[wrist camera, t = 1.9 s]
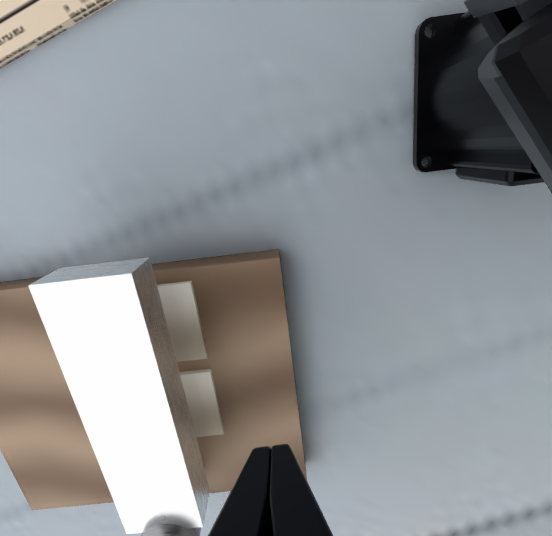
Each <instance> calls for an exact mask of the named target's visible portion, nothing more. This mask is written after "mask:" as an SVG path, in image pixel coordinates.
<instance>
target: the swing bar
mask: <svg viewBox="0 0 552 536" xmlns="http://www.w3.org/2000/svg"><path fill="white" fill-rule="evenodd" d="M28 287H29V289H30V292H31V294H32V297H33V299H34V302H35V304H36V307H37V309H38V312H39V314H40V317H41V319H42V322H43V324H44V327H45V329H46V332H47V334H48V337H49V339H50V342H51V344H52V347H53V350H54V352H55V355H56V357H57V360H58V362H59V365H60V367H61V370H62V372H63V375H64V377H65V380H66V382H67V385H68V387H69V390H70V392H71V395H72V397H73V400H74V402H75V405H76V407H77V410H78V412H79V415H80V417H81V420H82V423H83V425H84V428H85V430H86V433H87V435H88V438H89V440H90V443H91V445H92V448H93V450H94V453H95V455H96V458H97V460H98V463H99V465H100V468H101V470H102V473H103V475H104V478H105V480H106V483H107V485H108V488H109V491H110V493H111V496H112V498H113V501H114V503H115V506H116V508H117V511H118V513H119V516H120V518H121V521H122V523H123V526H124V528H125V531H126V533H127V534H132V533H142V535H141V536H200V531H201V527H203V524H204V519H205V513H206V508H207V503H208V497H209V492H210V488H209V484H208V480H207V477H206V473H205V469H204V465H203V461H202V457H201V453H200V449H199V446H198V442H197V438H196V434H195V430H194V426H193V422H192V418H191V415H190V411H189V407H188V403H187V399H186V395H185V391H184V387H183V384H182V380H181V376H180V372H179V368H178V364H177V360H176V356H175V353H174V349H173V345H172V341H171V337H170V333H169V329H168V325H167V322H166V318H165V314H164V310H163V306H162V302H161V298H160V294H159V291H158V287H157V283H156V279H155V275H154V271H153V267H152V263H151V260H150V257H147V258H139V259H130V260H122V261H113V262H105V263H97V264H88V265H80V266H71V267H63V268H59V269H57V270H55V271H53V272H51V273H50V274H48V275H46V276H44V277H42V278H41V279H39V280H37V281H35V282H33V283H32V284H30V285H28Z"/></svg>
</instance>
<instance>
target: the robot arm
mask: <svg viewBox="0 0 552 536" xmlns="http://www.w3.org/2000/svg"><path fill="white" fill-rule="evenodd" d="M464 3H465V5H466V6H467V8H468V10H469V11H468V12H466V13H459V14H452V15H444V16H437V17H430V18H428V19H426V20H424V21H423V22H422V23H421V24H420V25H419V26H418V28H417V29H416V33H415V75H414V139H413V165H414V167H415V169H416V170H418V171H420V172H431V171H439V170H447V169H455V168H456V175H457V176H458V177H459V178H461V179H467V180H474V181H480V182H487V183H493V184H500V185H506V186H517V185H525V184H533V183H541V182H545V183H546V185H547V186H548V188H549V189H550V191H551V193H552V0H466V1H465V2H464ZM426 27H429V28H430V29H431V30H432V36H431V38H428V37H426V36H425V33H424V31H425V28H426ZM424 157H427V158H428V164H427V165H426V166H422V163H421V161H422V159H423V158H424ZM208 536H333V534H332V532H331V530H330V528H329V526H328V524H327V522H326V520H325V518H324V516H323V513H322V511H321V509H320V507H319V505H318V503H317V501H316V499H315V497H314V495H313V493H312V491H311V489H310V486H309V484H308V482H307V480H306V478H305V476H304V474H303V472H302V470H301V468H300V466H299V464H298V462H297V459H296V457H295V455H294V453H293V451H292V449H291V447H290V445H289V444H280V445H274V446H272V448H271V447H269V446H264V447H256V448H254V449H253V450H252V451H251V453H250V455H249V457H248V459H247V461H246V463H245V465H244V467H243V469H242V471H241V473H240V474H239V476H238V478H237V480H236V482H235V484H234V486H233V488H232V490H231V492H230V494H229V496H228V498H227V500H226V502H225V504H224V506H223V507H222V509H221V511H220V513H219V515H218V517H217V519H216V521H215V523H214V525H213V527H212V529H211V531H210V533H209V535H208Z"/></svg>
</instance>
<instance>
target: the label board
mask: <svg viewBox="0 0 552 536" xmlns="http://www.w3.org/2000/svg"><path fill="white" fill-rule="evenodd" d="M152 267H153V271H154V275H155V279H156V283H157V287H158V291H159V294H160V298H161V302H162V306H163V310H164V314H165V318H166V322H167V325H168V329H169V333H170V337H171V341H172V345H173V349H174V353H175V356H176V360H177V364H178V368H179V372H180V376H181V380H182V384H183V387H184V391H185V395H186V399H187V403H188V407H189V411H190V415H191V418H192V422H193V426H194V430H195V434H196V438H197V442H198V446H199V449H200V453H201V457H202V461H203V465H204V469H205V473H206V477H207V480H208V484H209V488H210V492H209V493H214V492H225V491H231V490H232V488H233V486H234V484H235V482H236V480H237V478H238V476H239V474H240V473H241V471H242V469H243V467H244V465H245V463H246V461H247V459H248V457H249V455H250V453H251V451H252V450H253V449H254V448H256V447H264V446H269V447H271V448H272V446H274V445H280V444H289V445H290V447H291V449H292V451H293V453H294V455H295V457H296V459H297V462H298V464H299V466H300V468H301V470H302V472H303V474H304V476H305V478H306V480H307V477H306V468H305V459H304V451H303V442H302V434H301V426H300V418H299V410H298V401H297V393H296V385H295V377H294V369H293V361H292V352H291V344H290V336H289V328H288V320H287V311H286V303H285V295H284V287H283V279H282V270H281V262H280V254H279V249H278V250H269V251H261V252H252V253H244V254H235V255H227V256H218V257H210V258H202V259H193V260H185V261H176V262H168V263H159V264H152ZM41 278H42V277H41ZM41 278H32V279H24V280H15V281H7V282H0V449H1V451H2V453H3V455H4V457H5V459H6V461H7V463H8V465H9V467H10V469H11V471H12V473H13V475H14V476H15V478H16V480H17V482H18V484H19V486H20V488H21V490H22V492H23V494H24V496H25V498H26V500H27V502H28V503H29V505H30V507H31V509H32V510H38V509H48V508H58V507H69V506H79V505H90V504H100V503H110V502H114V501H113V498H112V496H111V493H110V491H109V488H108V485H107V483H106V480H105V478H104V475H103V473H102V470H101V468H100V465H99V463H98V460H97V458H96V455H95V453H94V450H93V448H92V445H91V443H90V440H89V438H88V435H87V433H86V430H85V428H84V425H83V423H82V420H81V417H80V415H79V412H78V410H77V407H76V405H75V402H74V400H73V397H72V395H71V392H70V390H69V387H68V385H67V382H66V380H65V377H64V375H63V372H62V370H61V367H60V365H59V362H58V360H57V357H56V355H55V352H54V350H53V347H52V344H51V342H50V339H49V337H48V334H47V332H46V329H45V327H44V324H43V322H42V319H41V317H40V314H39V312H38V309H37V307H36V304H35V302H34V299H33V297H32V294H31V292H30V289H29V287H28V285H30V284H32V283H33V282H35V281H37V280H39V279H41Z"/></svg>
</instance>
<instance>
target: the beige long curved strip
mask: <svg viewBox="0 0 552 536" xmlns="http://www.w3.org/2000/svg"><path fill="white" fill-rule="evenodd" d="M115 1H117V0H0V68H1V67H3V66H4V65H6V64H8V63H10V62H11V61H13V60H15V59H17V58H18V57H20V56H22V55H23V54H25V53H27V52H29V51H30V50H32V49H34V48H36V47H37V46H39V45H41V44H42V43H44V42H46V41H48V40H49V39H51V38H53V37H55V36H56V35H58V34H60V33H61V32H63V31H65V30H67V29H68V28H70V27H72V26H74V25H75V24H77V23H79V22H80V21H82V20H84V19H86V18H87V17H89V16H91V15H93V14H94V13H96V12H98V11H99V10H101V9H103V8H105V7H106V6H108V5H110V4H112V3H113V2H115Z"/></svg>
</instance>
